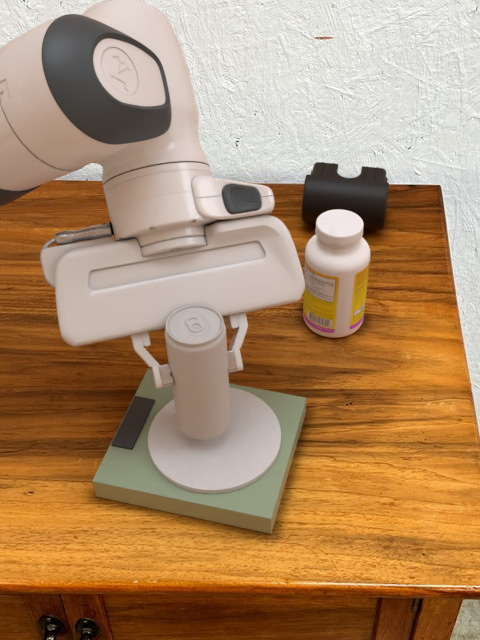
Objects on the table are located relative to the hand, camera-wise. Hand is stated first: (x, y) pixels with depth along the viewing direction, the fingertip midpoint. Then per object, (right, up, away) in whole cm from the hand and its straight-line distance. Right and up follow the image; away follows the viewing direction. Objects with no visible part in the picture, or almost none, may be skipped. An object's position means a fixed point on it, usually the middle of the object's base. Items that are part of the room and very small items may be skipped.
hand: (200, 379), depth 64 cm
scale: (0, -7, +8) cm, 11 cm away
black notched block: (+15, +19, +34) cm, 41 cm away
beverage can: (0, -4, +5) cm, 7 cm away
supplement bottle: (+12, +6, +21) cm, 25 cm away
